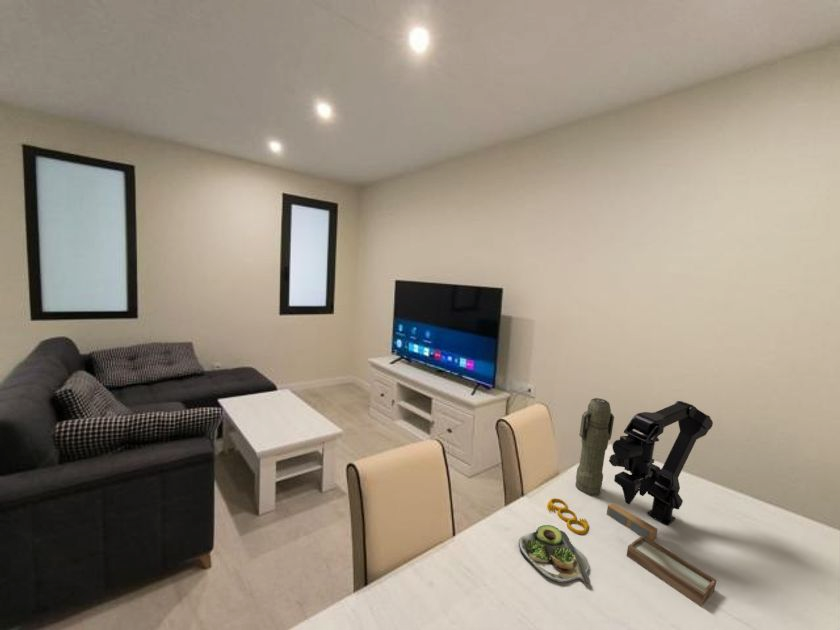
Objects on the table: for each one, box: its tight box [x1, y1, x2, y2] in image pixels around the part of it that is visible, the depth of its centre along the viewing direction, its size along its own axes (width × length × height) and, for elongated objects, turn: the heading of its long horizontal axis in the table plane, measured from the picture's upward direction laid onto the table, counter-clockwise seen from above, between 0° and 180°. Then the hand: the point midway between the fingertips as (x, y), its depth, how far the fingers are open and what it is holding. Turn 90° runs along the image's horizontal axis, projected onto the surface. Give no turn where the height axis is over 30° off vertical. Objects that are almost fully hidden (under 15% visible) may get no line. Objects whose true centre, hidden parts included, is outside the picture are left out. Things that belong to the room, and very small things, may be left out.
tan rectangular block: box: [606, 502, 659, 541], centre depth 116 cm, size 4×14×4 cm, turn 33°
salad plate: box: [518, 524, 591, 584], centre depth 99 cm, size 19×18×5 cm
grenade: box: [575, 397, 615, 496], centre depth 133 cm, size 9×12×35 cm
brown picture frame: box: [626, 535, 718, 607], centre depth 98 cm, size 9×18×3 cm, turn 34°
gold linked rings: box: [546, 497, 589, 536], centre depth 118 cm, size 17×2×10 cm
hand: (634, 499), depth 115 cm, fingers open, 9 cm apart
